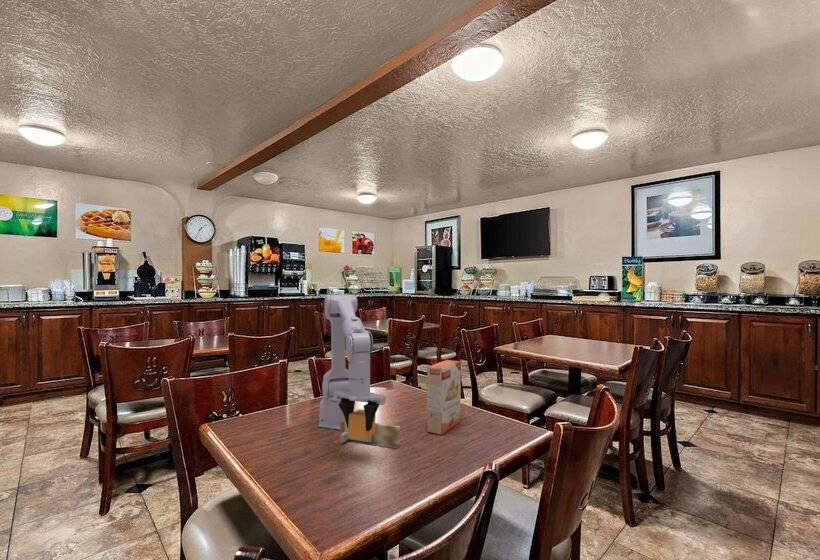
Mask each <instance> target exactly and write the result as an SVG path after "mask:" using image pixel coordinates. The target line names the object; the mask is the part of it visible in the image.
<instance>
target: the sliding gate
mask: <svg viewBox="0 0 820 560" xmlns="http://www.w3.org/2000/svg"><path fill="white" fill-rule="evenodd" d="M348 439H350V440H357V441H363V442H371V441H372V436H370V437H369V438H367V439H366V440H362V439H355V438H349V437H348V428H347V424H346V422H345V423H344V433H342V434H341V435H340V434H339V441H340V443H345V442H347V441H346V440H348Z"/></svg>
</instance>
